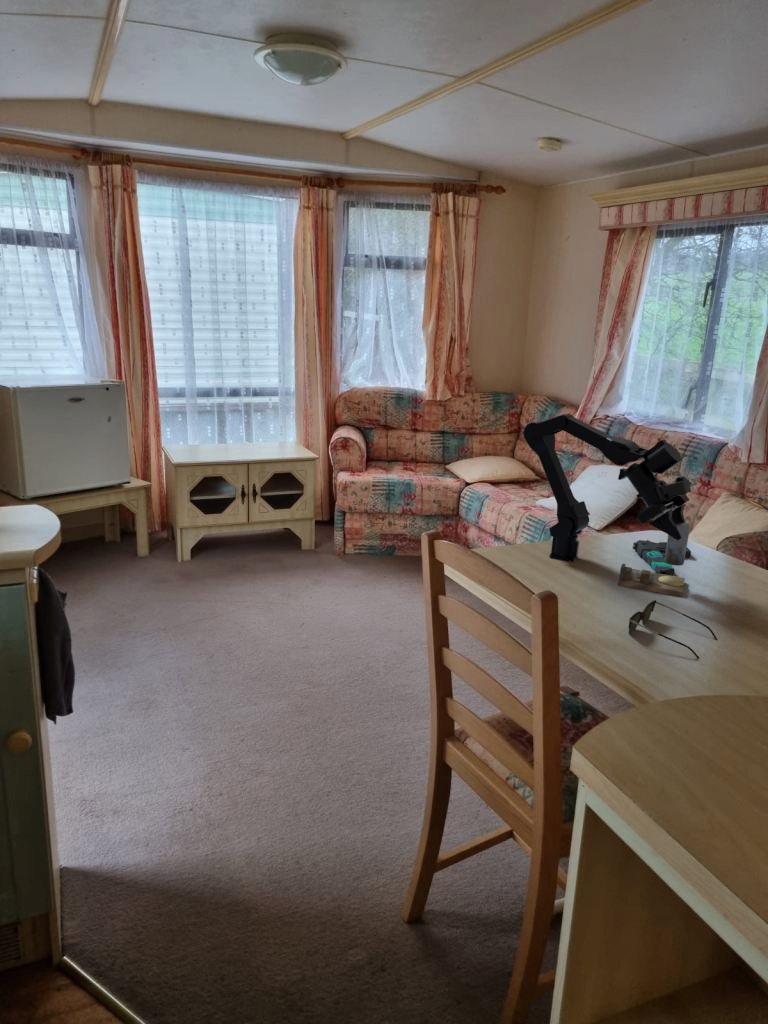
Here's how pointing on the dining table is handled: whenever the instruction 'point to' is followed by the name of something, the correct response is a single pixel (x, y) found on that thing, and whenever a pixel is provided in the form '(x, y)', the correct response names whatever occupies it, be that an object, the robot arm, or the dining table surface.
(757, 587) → the dining table surface
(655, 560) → the handgun
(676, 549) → the silver metal cylinder
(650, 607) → the sunglasses
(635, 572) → the door lock
